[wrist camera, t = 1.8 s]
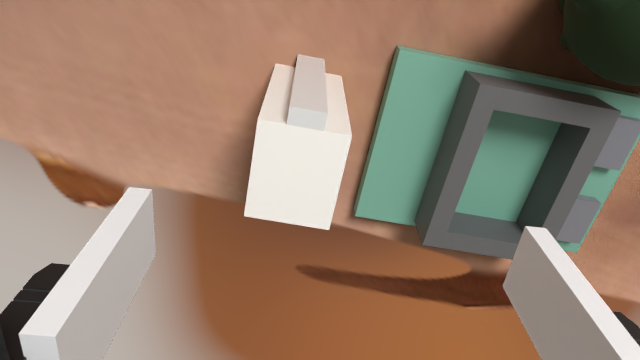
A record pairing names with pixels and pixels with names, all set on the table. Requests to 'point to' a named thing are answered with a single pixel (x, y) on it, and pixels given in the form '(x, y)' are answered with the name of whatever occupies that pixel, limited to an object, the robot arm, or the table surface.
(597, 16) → the toy figurine
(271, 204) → the plug
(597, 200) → the board
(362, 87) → the table surface
